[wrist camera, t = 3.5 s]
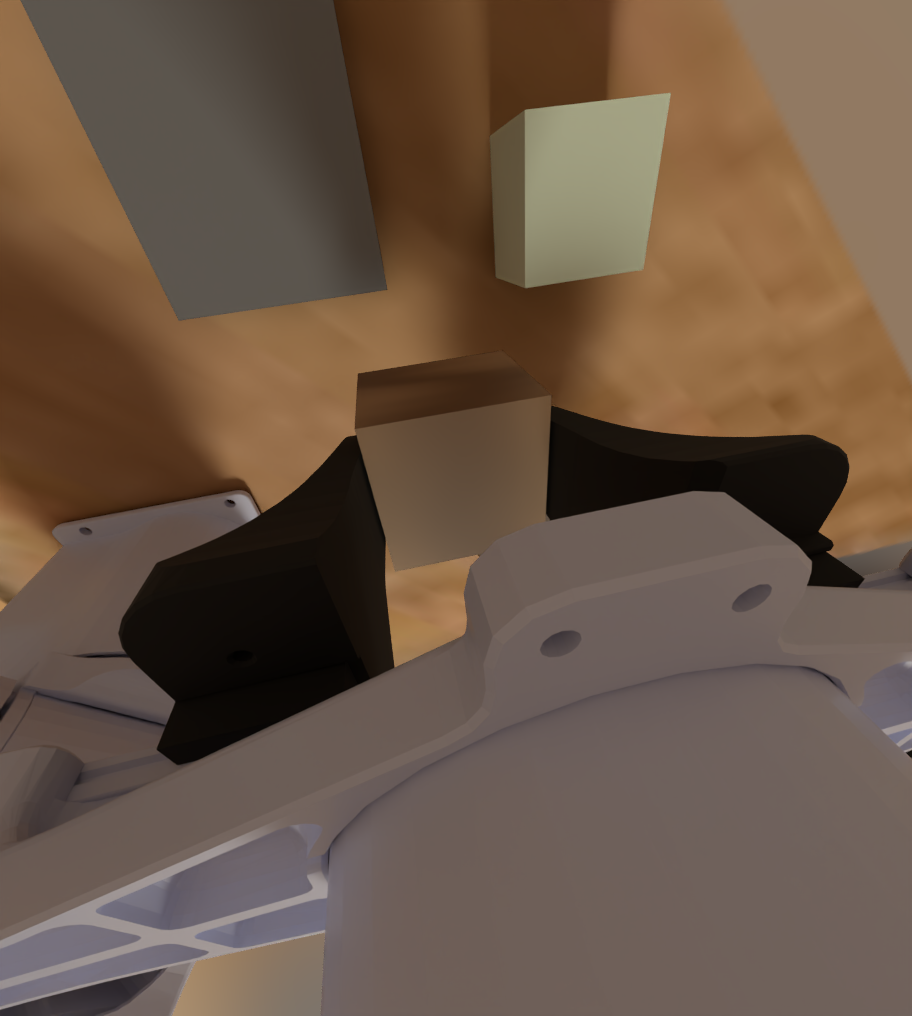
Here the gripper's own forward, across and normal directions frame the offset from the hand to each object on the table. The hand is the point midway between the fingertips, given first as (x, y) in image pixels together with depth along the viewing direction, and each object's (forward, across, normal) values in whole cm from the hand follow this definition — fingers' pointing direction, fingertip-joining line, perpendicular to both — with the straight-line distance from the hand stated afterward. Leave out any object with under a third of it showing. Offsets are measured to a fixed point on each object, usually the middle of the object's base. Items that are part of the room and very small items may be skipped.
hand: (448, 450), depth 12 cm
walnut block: (+2, 0, 0) cm, 2 cm away
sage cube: (+8, -6, -6) cm, 12 cm away
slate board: (+8, +5, -8) cm, 12 cm away
